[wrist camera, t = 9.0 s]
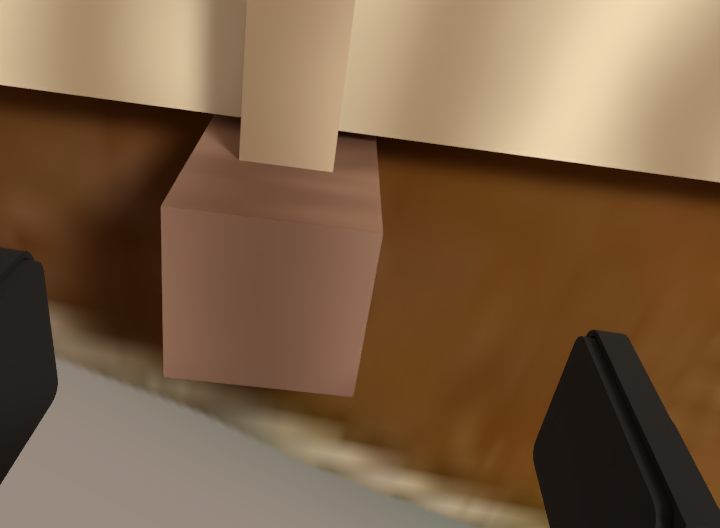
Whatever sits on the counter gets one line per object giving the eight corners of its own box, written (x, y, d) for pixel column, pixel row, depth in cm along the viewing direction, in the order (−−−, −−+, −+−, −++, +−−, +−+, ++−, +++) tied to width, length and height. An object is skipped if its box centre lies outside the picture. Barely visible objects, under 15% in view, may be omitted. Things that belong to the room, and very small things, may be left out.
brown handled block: (443, -301, 13) (502, -420, 7) (350, 278, 19) (348, 424, 14) (235, -340, 12) (149, -493, 7) (215, 262, 19) (164, 405, 14)
